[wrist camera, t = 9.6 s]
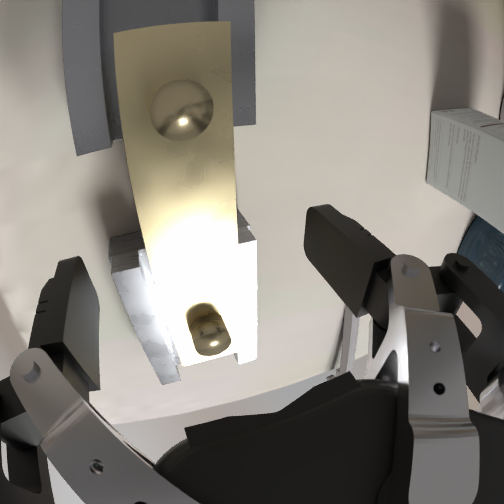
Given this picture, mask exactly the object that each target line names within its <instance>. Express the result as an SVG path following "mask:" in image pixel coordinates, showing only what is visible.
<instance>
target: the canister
mask: <svg viewBox="0 0 504 504" xmlns="http://www.w3.org/2000/svg"><path fill="white" fill-rule="evenodd" d="M458 254H460V255H462V256H464V257H466V258H468V259H469V260H470V261H471V262H473V263H474V264H475V265H476V266H477V267H478V268H479V269H480V270H481V271H482V272H483V273H484V274H485V275H486V276H487V277H489V278H490V279H491V280H492V281H493V282H494V283H495V284H496V285H497V286H498V287H499V288H500V289H501V290H502V291H503V292H504V234H503V233H502V232H501V231H499V230H498V229H497V228H495V227H494V226H492V225H491V224H490V223H488V222H487V221H485V220H484V219H483V218H481V217H480V216H477V217H476V219H475V220H474V222H473V223H472V225H471V226H470V228H469V230H468V232H467V233H466V235H465V237H464V239H463V241H462V244H461V246H460V248H459V251H458Z"/></svg>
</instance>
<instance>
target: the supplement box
mask: <svg viewBox="0 0 504 504" xmlns="http://www.w3.org/2000/svg"><path fill="white" fill-rule="evenodd" d="M426 183H427V184H429V185H431V186H432V187H434V188H436V189H437V190H439V191H441V192H442V193H444V194H446V195H447V196H449V197H451V198H452V199H454V200H455V201H457V202H459V203H460V204H462V205H463V206H465V207H466V208H468V209H469V210H471V211H472V212H474V213H475V214H477V215H478V216H480V217H481V218H483V219H484V220H485V221H487V222H488V223H490V224H491V225H492V226H494V227H495V228H497V229H498V230H499V231H501V232H502V233H503V234H504V122H503V121H501V120H499V119H496V118H494V117H492V116H489V115H487V114H484V113H482V112H479V111H477V110H474V109H471V108H461V109H447V110H436V111H431V133H430V150H429V161H428V171H427V180H426Z"/></svg>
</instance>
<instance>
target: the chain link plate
mask: <svg viewBox="0 0 504 504" xmlns="http://www.w3.org/2000/svg"><path fill="white" fill-rule="evenodd" d="M113 35H114V56H115V70H116V82H117V92H118V101H119V110H120V118H121V125H122V132H123V139H124V146H125V152H126V158H127V164H128V169H129V175H130V180H131V185H132V190H133V195H134V200H135V204H136V209H137V213H138V218H139V222H140V226H141V231H142V235H143V239H144V243H145V247H146V251H147V255H148V258H149V262H150V266H151V269H152V273H153V277H154V280H155V283H156V287H157V290H158V294H159V297H160V300H161V303H162V307H163V310H164V313H165V316H166V319H167V322H168V325H169V328H170V331H171V334H172V337H173V340H174V343H175V346H176V349H177V351H178V354H179V357H180V360H181V362H182V365H183V366H187V365H191V364H195V363H199V362H203V361H206V360H210V359H214V358H217V357H221V356H224V355H228V354H231V353H235V352H238V351H241V350H244V346H243V329H242V311H241V293H240V274H239V254H238V233H237V211H236V187H235V162H234V134H233V103H232V68H231V21H212V22H190V23H178V24H167V25H159V26H151V27H144V28H138V29H132V30H126V31H121V32H116V33H113Z"/></svg>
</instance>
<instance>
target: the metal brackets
mask: <svg viewBox="0 0 504 504" xmlns="http://www.w3.org/2000/svg"><path fill="white" fill-rule="evenodd" d="M212 21H231V68H232V103H233V126H244V125H255V124H256V95H255V16H254V0H62V44H63V62H64V74H65V85H66V93H67V101H68V109H69V115H70V122H71V128H72V133H73V139H74V144H75V149H76V154H77V156H80V155H83V154H87V153H91V152H94V151H98V150H102V149H106V148H110V147H112V144H113V141H114V140H115V139H119V138H123V132H122V125H121V118H120V110H119V101H118V92H117V82H116V70H115V56H114V35H113V33H116V32H121V31H126V30H132V29H138V28H144V27H151V26H159V25H167V24H178V23H190V22H212ZM237 233H238V254H239V274H240V293H241V311H242V329H243V346H244V350H241V351H238V352H235V353H234V355H235V358H236V360H237V362H238V365H239V364H243V363H246V362H249V361H252V360H255V359H257V240H256V239H255V237H254V236H253V235H252V233H251V232H250V225H249V224H248V222H247V221H246V220H245V218H244V217H243V216H242V214H241V213H240V212H239V210H237ZM109 260H110V263H111V266H112V270H111V274H112V277H113V279H114V282H115V284H116V287H117V290H118V292H119V295H120V297H121V299H122V302H123V304H124V307H125V309H126V311H127V314H128V316H129V318H130V321H131V323H132V325H133V327H134V330H135V332H136V334H137V336H138V338H139V340H140V342H141V345H142V347H143V349H144V351H145V353H146V355H147V357H148V359H149V361H150V363H151V365H152V367H153V369H154V371H155V373H156V374H157V376H158V378H159V380H160V382H161V384H162V385H164V384H169V383H173V382H177V381H181V379H180V375H179V372H178V368H177V365H179V364H182V362H181V360H180V357H179V354H178V351H177V349H176V346H175V343H174V340H173V337H172V334H171V331H170V328H169V325H168V322H167V319H166V316H165V313H164V310H163V307H162V303H161V300H160V297H159V294H158V290H157V287H156V283H155V280H154V277H153V273H152V269H151V266H150V262H149V258H148V255H147V251H146V247H145V243H144V239H143V235H142V231H138V232H134V233H130V234H125V235H121V236H117V237H113V238H110V245H109Z"/></svg>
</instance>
